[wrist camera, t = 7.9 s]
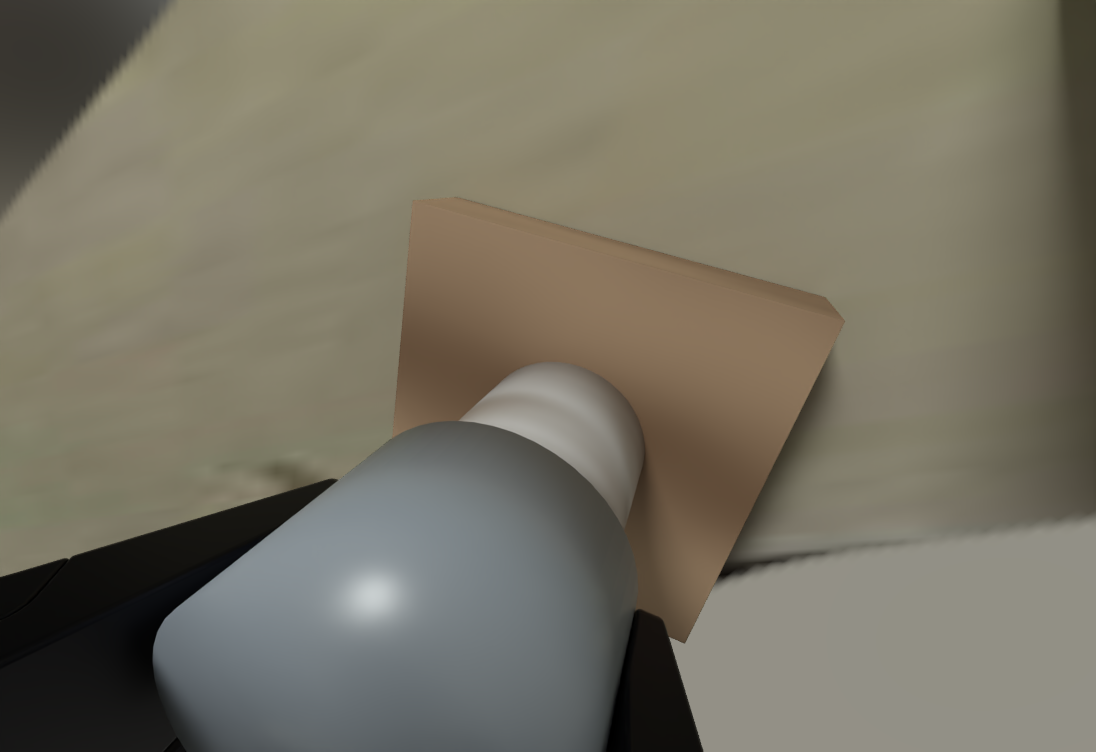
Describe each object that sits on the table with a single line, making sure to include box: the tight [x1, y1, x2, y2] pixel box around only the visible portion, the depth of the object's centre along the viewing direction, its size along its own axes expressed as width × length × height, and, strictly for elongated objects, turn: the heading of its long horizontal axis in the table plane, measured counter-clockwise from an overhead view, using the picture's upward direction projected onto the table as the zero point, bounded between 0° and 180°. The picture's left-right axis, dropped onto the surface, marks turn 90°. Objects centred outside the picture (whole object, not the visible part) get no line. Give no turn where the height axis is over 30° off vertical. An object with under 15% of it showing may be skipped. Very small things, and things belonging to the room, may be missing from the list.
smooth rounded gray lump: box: [153, 421, 638, 752], centre depth 7 cm, size 5×5×4 cm
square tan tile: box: [392, 197, 845, 643], centre depth 11 cm, size 9×9×6 cm
